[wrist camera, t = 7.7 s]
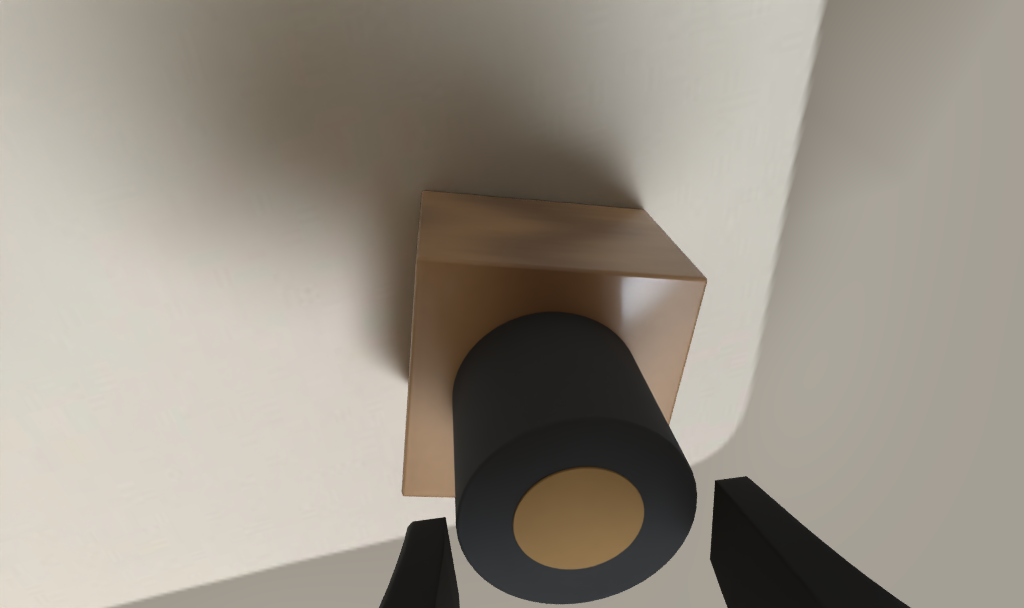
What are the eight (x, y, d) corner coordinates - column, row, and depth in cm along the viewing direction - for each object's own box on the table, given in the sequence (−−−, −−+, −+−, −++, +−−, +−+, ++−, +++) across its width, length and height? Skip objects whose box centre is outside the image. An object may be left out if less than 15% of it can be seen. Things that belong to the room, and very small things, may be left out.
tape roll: (655, 317, 16) (725, 425, 12) (619, 471, 18) (669, 607, 14) (460, 304, 16) (468, 414, 12) (445, 466, 18) (446, 607, 14)
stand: (645, 209, 21) (709, 279, 16) (606, 395, 24) (649, 503, 19) (422, 189, 20) (415, 257, 15) (409, 386, 23) (401, 497, 18)
